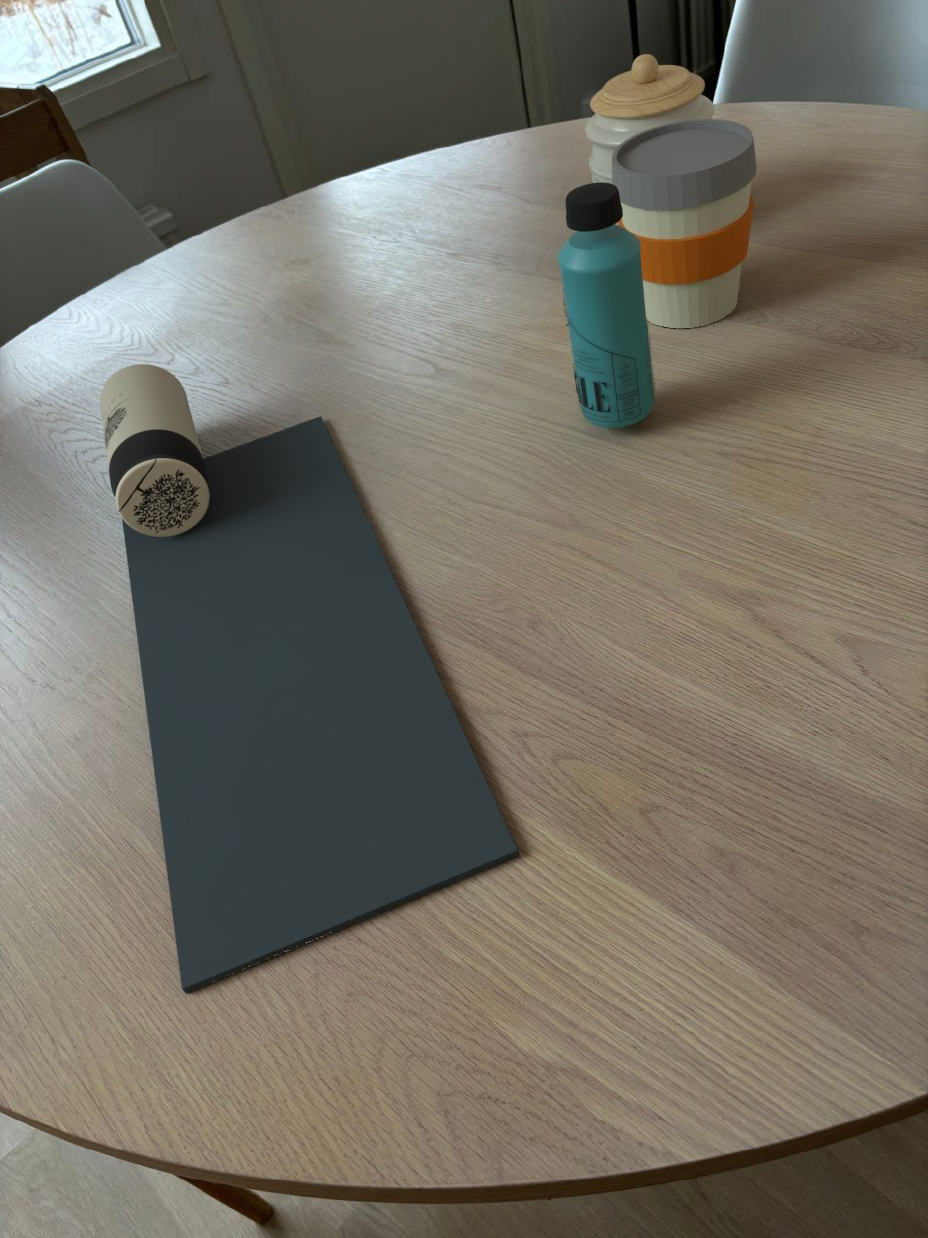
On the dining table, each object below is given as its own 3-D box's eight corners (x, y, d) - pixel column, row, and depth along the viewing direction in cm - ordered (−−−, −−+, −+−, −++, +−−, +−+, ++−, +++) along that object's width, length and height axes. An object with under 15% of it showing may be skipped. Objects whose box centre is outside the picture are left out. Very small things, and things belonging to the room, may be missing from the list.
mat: (185, 994, 56) (181, 989, 56) (120, 493, 94) (117, 488, 94) (519, 855, 58) (518, 850, 58) (322, 420, 96) (320, 415, 96)
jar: (594, 216, 116) (574, 49, 104) (709, 194, 114) (702, 21, 102) (601, 267, 107) (580, 90, 95) (726, 245, 105) (721, 61, 93)
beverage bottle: (667, 403, 87) (649, 168, 73) (644, 449, 83) (620, 209, 69) (595, 398, 90) (565, 171, 76) (569, 442, 86) (533, 210, 72)
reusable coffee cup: (728, 345, 91) (723, 179, 81) (602, 331, 98) (583, 175, 87) (776, 278, 98) (777, 116, 88) (655, 269, 104) (644, 117, 94)
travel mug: (204, 397, 98) (232, 493, 85) (149, 453, 100) (169, 556, 87) (137, 345, 93) (157, 439, 80) (81, 405, 95) (91, 506, 82)
